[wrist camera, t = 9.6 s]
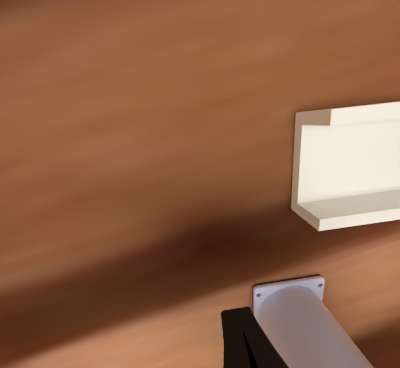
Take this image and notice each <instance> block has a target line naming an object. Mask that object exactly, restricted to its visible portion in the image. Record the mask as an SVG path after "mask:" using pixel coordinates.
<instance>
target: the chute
mask: <svg viewBox="0 0 400 368" xmlns="http://www.w3.org/2000/svg"><path fill="white" fill-rule="evenodd" d="M291 209H292V210H293V211H294V212H295V213H297V214H298V215H299V216H301V217H302V218H303V219H304V220H306V221H307V222H308V223H309V224H311V225H312V226H313V227H314V228H316V229H317V230H318V231H322V230H329V229H336V228H343V227H350V226H357V225H364V224H371V223H378V222H385V221H392V220H399V219H400V101H396V102H387V103H378V104H368V105H359V106H350V107H341V108H332V109H323V110H314V111H305V112H296V117H295V136H294V156H293V176H292V196H291Z"/></svg>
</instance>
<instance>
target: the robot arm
mask: <svg viewBox="0 0 400 368" xmlns="http://www.w3.org/2000/svg"><path fill="white" fill-rule="evenodd" d="M324 283H325V279H324V278H323V277H322V276H314V277H308V278H302V279H295V280H289V281H283V282H276V283H270V284H264V285H257V286H255V287H254V288H253V313H252V311H251V309H250V308H249V307H243V308H237V309H231V310H224V311H222V312H221V318H222V328H223V339H224V368H373V366H372V365H371V364H370V363H369V361H368V360H367V359H366V357H365V356H364V355H363V354H362V352H361V351H360V350H359V348H358V347H357V346H356V345H355V343H354V342H353V341H352V340H351V338H350V337H349V336H348V334H347V333H346V332H345V331H344V329H343V328H342V327H341V325H340V324H339V323H338V322H337V320H336V319H335V318H334V316H333V315H332V314H331V313H330V311H329V310H328V309H327V308H326V306H325V305H324V304H323V302H322V299H323V291H324ZM258 293H259V294H258ZM253 314H254V315H253Z"/></svg>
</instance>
